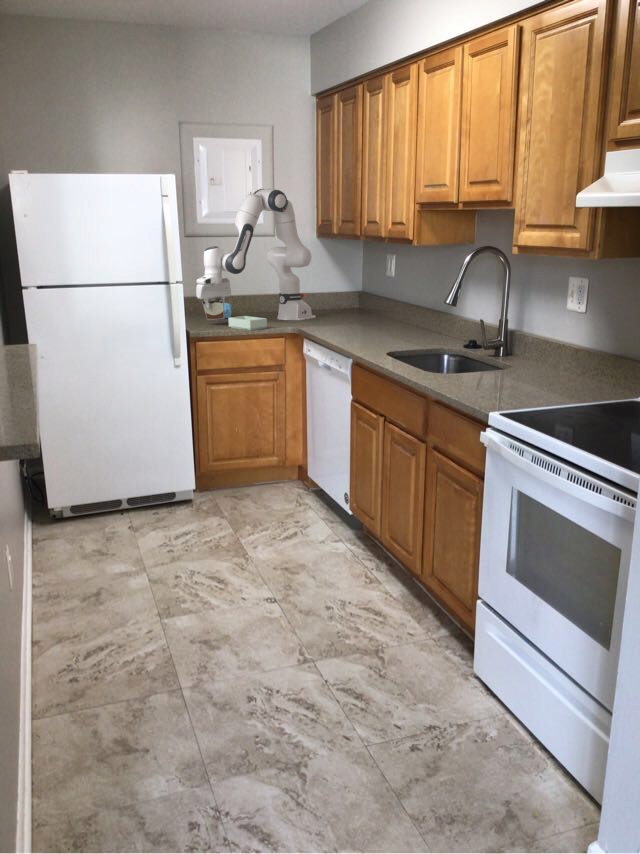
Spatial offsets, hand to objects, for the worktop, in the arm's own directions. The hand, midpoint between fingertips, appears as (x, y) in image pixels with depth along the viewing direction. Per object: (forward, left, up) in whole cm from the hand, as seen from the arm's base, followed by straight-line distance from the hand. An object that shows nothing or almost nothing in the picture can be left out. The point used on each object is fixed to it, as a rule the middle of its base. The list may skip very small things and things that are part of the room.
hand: (214, 306), depth 396 cm
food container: (-2, -1, -6) cm, 7 cm away
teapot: (-19, -20, -10) cm, 29 cm away
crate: (-5, +19, -10) cm, 22 cm away
